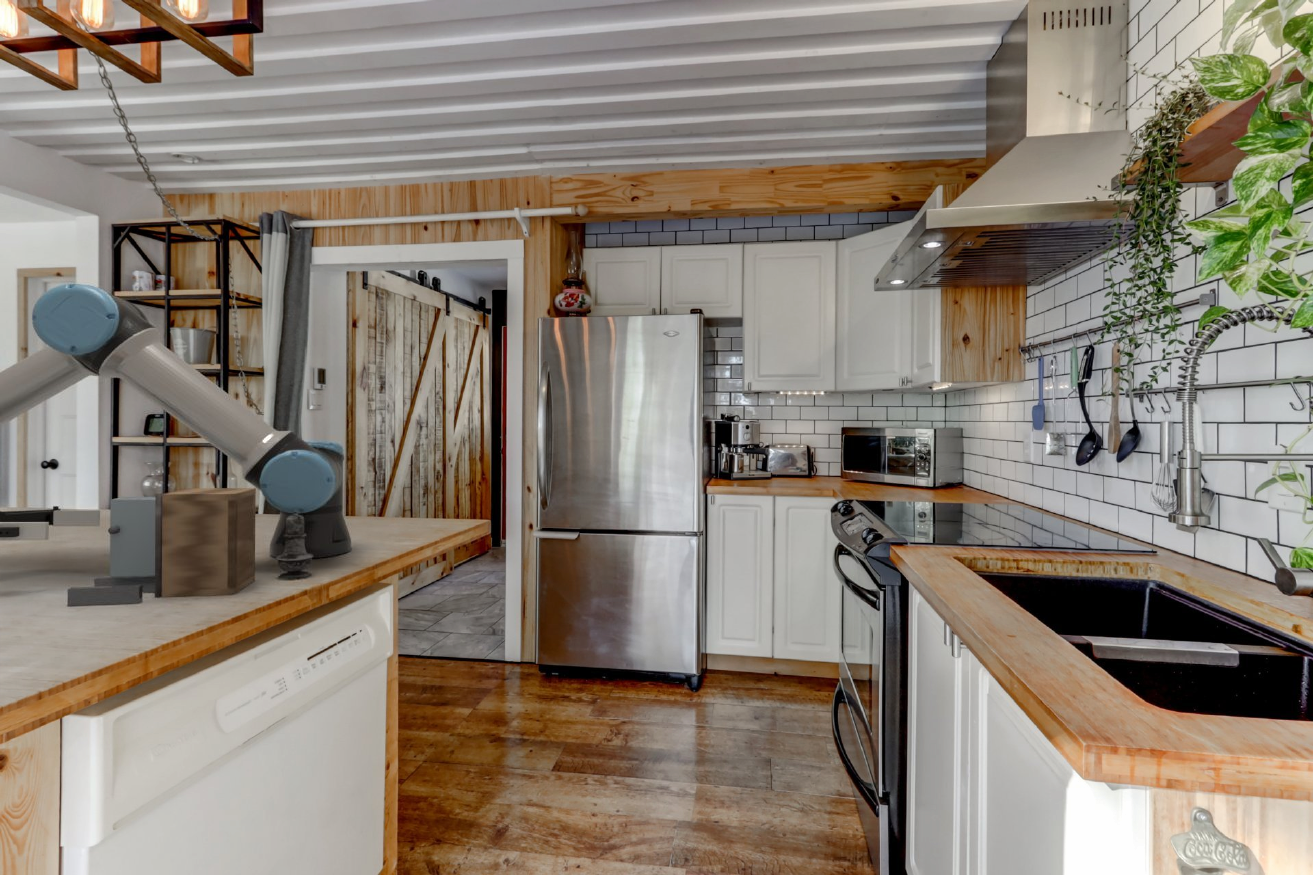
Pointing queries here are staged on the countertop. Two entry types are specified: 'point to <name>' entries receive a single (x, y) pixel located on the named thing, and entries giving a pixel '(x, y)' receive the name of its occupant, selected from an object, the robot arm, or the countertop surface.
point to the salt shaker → (294, 550)
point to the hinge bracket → (112, 591)
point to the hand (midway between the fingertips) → (74, 524)
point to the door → (132, 536)
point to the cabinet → (204, 541)
